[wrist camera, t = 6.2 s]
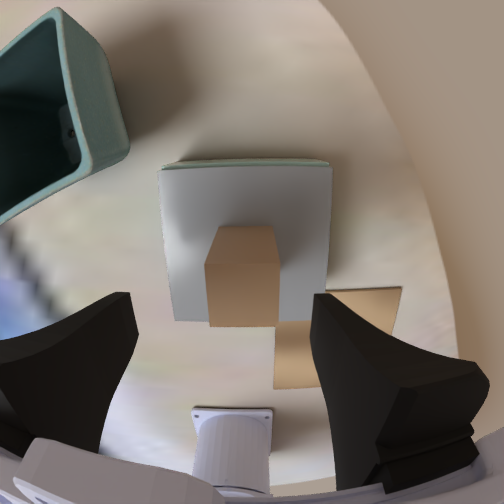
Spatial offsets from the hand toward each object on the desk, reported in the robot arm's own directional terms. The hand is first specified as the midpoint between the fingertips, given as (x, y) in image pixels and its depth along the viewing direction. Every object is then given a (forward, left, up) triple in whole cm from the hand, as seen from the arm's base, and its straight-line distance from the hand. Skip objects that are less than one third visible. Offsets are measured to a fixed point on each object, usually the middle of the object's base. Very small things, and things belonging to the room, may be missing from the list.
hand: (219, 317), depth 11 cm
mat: (-9, -8, -10) cm, 16 cm away
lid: (+1, -1, -6) cm, 6 cm away
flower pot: (+9, +10, -10) cm, 17 cm away
